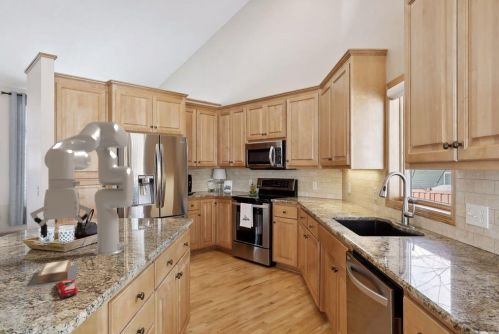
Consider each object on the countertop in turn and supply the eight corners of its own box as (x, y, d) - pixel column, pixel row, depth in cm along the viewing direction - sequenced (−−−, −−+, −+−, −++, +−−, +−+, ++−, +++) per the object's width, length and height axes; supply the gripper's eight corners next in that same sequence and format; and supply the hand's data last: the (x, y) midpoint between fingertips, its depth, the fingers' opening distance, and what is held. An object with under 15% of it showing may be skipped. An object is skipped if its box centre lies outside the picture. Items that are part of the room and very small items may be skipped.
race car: (55, 288, 101) (55, 276, 101) (73, 284, 104) (73, 273, 104) (58, 301, 90) (58, 289, 90) (78, 296, 94) (78, 284, 94)
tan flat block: (70, 267, 118) (70, 259, 118) (67, 279, 105) (67, 270, 105) (44, 271, 114) (44, 263, 114) (37, 284, 101) (37, 275, 101)
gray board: (78, 266, 121) (78, 264, 121) (75, 282, 105) (75, 280, 105) (37, 272, 115) (37, 270, 115) (27, 290, 98) (27, 288, 98)
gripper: (91, 183, 104) (92, 230, 104) (33, 185, 97) (33, 236, 96) (90, 184, 97) (90, 234, 97) (27, 186, 90) (27, 241, 90)
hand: (62, 235), depth 97 cm, fingers open, 9 cm apart
